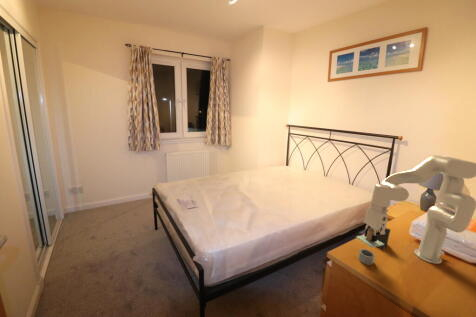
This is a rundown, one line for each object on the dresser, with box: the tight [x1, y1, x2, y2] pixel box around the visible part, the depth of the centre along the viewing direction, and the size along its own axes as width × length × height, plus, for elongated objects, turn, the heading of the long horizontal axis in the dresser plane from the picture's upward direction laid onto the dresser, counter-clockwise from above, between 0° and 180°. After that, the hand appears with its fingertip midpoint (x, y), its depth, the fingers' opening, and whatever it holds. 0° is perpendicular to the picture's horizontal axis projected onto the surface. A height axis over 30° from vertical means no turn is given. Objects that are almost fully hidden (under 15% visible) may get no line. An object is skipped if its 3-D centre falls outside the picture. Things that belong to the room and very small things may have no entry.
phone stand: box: [376, 227, 391, 250], centre depth 140 cm, size 9×6×12 cm, turn 134°
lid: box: [355, 227, 384, 249], centre depth 121 cm, size 10×10×7 cm
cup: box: [357, 248, 376, 266], centre depth 124 cm, size 7×7×4 cm
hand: (370, 238), depth 122 cm, fingers closed on lid, 4 cm apart
